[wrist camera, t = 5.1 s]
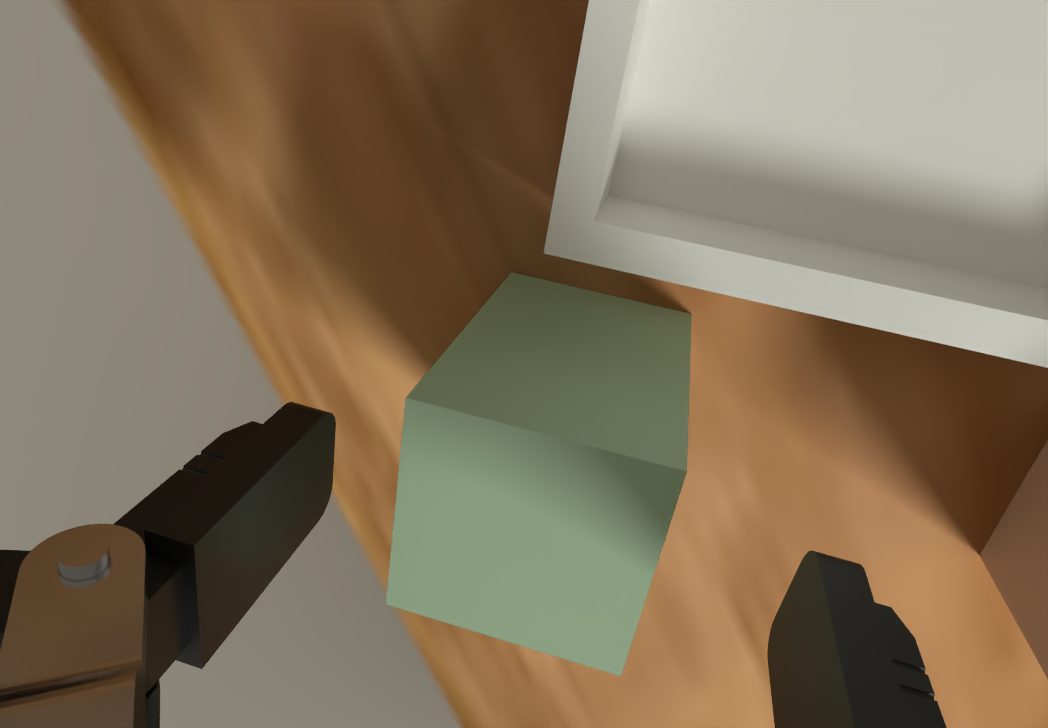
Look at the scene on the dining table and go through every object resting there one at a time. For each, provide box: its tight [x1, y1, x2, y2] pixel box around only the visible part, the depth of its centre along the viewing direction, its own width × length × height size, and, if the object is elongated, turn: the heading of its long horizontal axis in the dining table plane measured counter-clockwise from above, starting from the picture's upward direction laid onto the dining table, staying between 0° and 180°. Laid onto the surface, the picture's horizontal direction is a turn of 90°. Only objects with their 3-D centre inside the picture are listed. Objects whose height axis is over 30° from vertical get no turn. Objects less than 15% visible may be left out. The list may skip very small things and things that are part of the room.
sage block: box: [386, 272, 692, 676], centre depth 15 cm, size 4×4×7 cm
